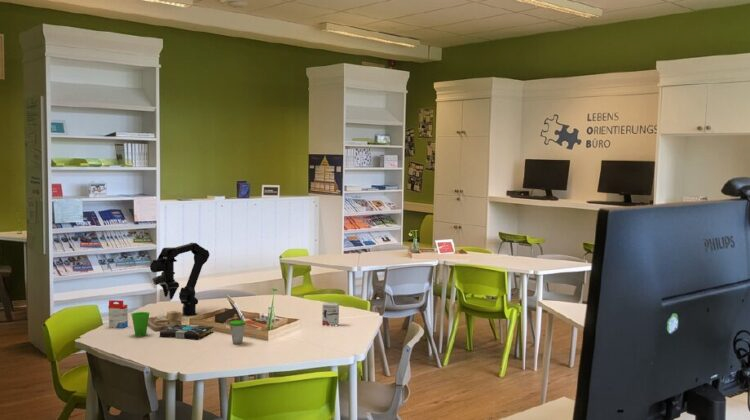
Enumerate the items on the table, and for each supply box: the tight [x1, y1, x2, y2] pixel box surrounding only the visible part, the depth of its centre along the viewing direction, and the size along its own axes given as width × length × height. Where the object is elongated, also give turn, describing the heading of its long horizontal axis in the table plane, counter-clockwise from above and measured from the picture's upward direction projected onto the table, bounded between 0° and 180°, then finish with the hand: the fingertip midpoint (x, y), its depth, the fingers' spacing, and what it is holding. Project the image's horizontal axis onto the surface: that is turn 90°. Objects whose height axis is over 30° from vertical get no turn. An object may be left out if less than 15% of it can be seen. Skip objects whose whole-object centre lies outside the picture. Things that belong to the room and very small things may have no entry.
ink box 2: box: [321, 302, 340, 326], centre depth 361 cm, size 8×5×12 cm, turn 86°
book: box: [159, 324, 214, 341], centre depth 336 cm, size 22×17×5 cm
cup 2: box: [229, 313, 246, 345], centre depth 321 cm, size 8×8×15 cm
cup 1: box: [130, 311, 151, 337], centre depth 334 cm, size 9×9×11 cm
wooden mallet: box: [154, 310, 182, 327], centre depth 351 cm, size 14×5×8 cm, turn 125°
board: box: [147, 316, 171, 332], centre depth 355 cm, size 8×25×2 cm, turn 35°
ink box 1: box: [108, 299, 129, 329], centre depth 350 cm, size 8×5×15 cm, turn 84°
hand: (168, 298), depth 369 cm, fingers open, 9 cm apart
